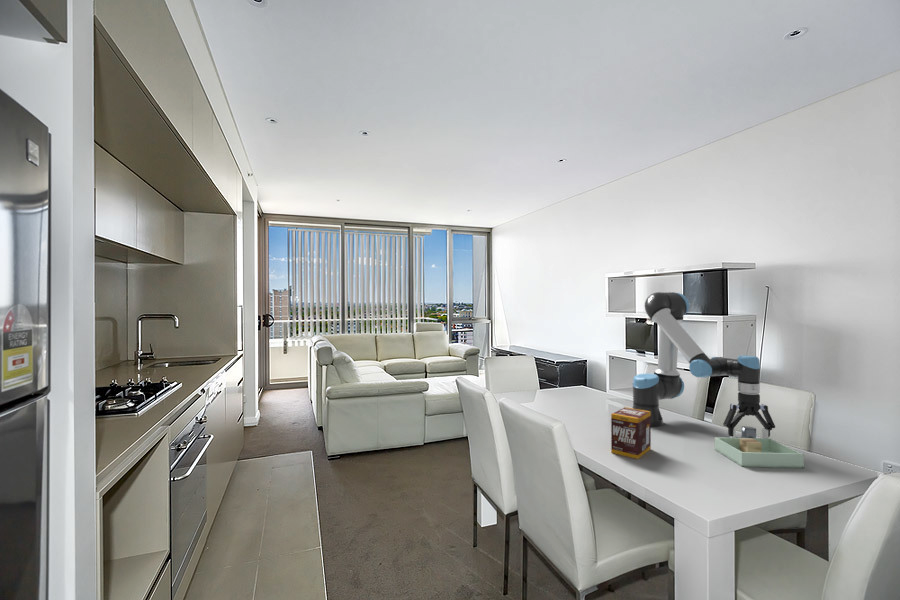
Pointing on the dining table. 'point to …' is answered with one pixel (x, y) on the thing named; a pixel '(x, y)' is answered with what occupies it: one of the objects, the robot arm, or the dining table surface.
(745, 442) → the oak cube
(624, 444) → the supplement box
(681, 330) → the robot arm
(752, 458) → the tote
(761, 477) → the dining table surface
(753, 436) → the grey tin
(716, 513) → the dining table surface
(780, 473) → the dining table surface
